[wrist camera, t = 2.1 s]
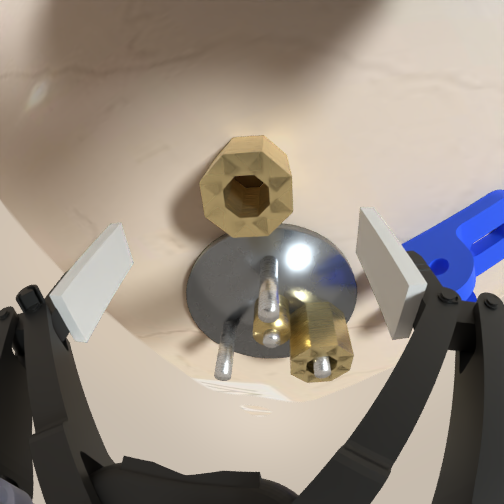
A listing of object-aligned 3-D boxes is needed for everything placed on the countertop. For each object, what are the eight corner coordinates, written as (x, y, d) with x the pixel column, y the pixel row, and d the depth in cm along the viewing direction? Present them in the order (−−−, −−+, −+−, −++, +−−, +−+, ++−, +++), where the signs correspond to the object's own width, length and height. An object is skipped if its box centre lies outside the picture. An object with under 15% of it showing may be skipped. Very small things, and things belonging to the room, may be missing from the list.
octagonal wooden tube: (211, 139, 23) (195, 157, 18) (285, 134, 23) (290, 150, 17) (220, 205, 26) (208, 239, 21) (288, 201, 26) (293, 235, 21)
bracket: (406, 301, 32) (432, 359, 24) (387, 250, 28) (419, 311, 20) (517, 234, 26) (557, 275, 18) (511, 177, 22) (563, 214, 14)
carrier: (172, 228, 28) (142, 281, 21) (363, 219, 26) (392, 271, 19) (205, 351, 37) (195, 403, 30) (344, 346, 36) (354, 400, 29)
